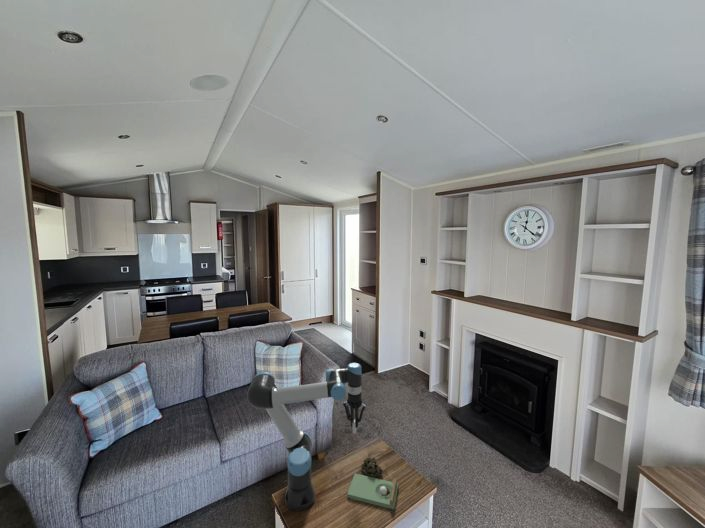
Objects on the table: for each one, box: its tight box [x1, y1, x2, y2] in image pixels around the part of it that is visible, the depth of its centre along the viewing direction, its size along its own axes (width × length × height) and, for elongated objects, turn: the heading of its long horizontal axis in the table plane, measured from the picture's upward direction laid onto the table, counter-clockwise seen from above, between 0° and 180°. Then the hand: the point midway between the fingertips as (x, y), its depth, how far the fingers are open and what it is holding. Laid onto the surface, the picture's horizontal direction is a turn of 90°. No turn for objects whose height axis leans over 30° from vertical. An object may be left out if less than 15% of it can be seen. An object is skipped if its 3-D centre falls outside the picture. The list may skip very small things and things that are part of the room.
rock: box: [360, 457, 383, 478], centre depth 176 cm, size 13×10×10 cm
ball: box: [379, 486, 388, 496], centre depth 161 cm, size 4×4×4 cm
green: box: [346, 473, 399, 510], centre depth 163 cm, size 24×14×4 cm, turn 74°
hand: (354, 432), depth 173 cm, fingers closed
